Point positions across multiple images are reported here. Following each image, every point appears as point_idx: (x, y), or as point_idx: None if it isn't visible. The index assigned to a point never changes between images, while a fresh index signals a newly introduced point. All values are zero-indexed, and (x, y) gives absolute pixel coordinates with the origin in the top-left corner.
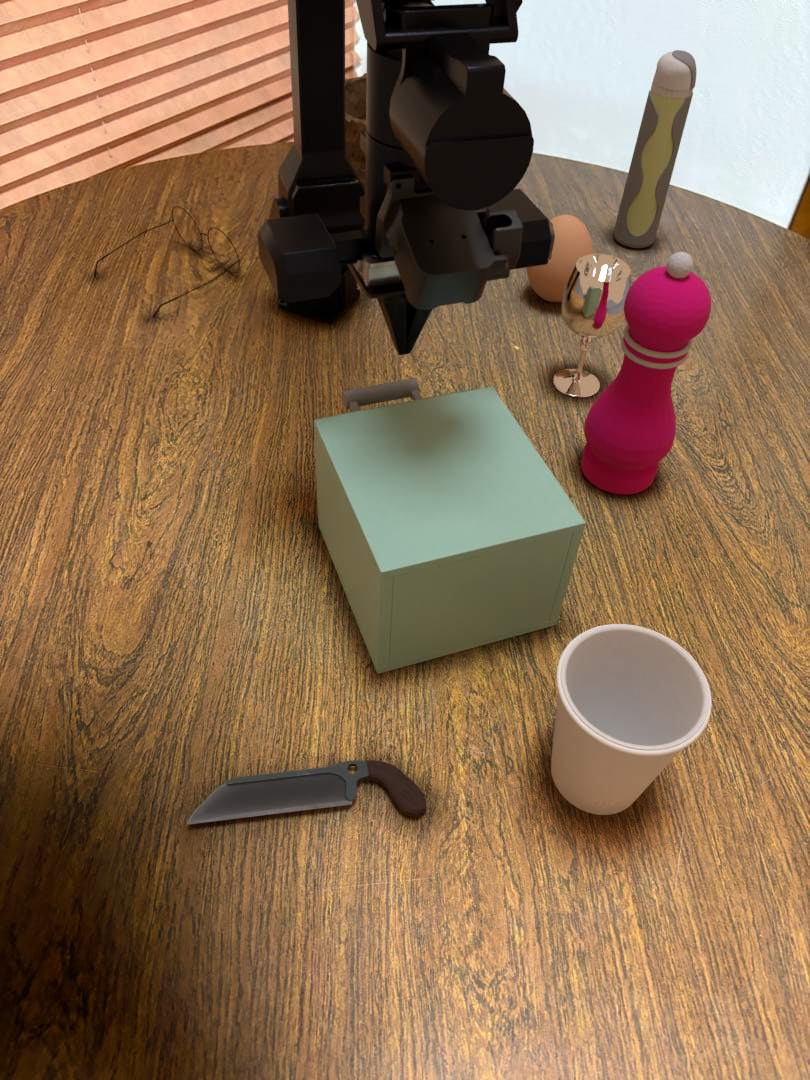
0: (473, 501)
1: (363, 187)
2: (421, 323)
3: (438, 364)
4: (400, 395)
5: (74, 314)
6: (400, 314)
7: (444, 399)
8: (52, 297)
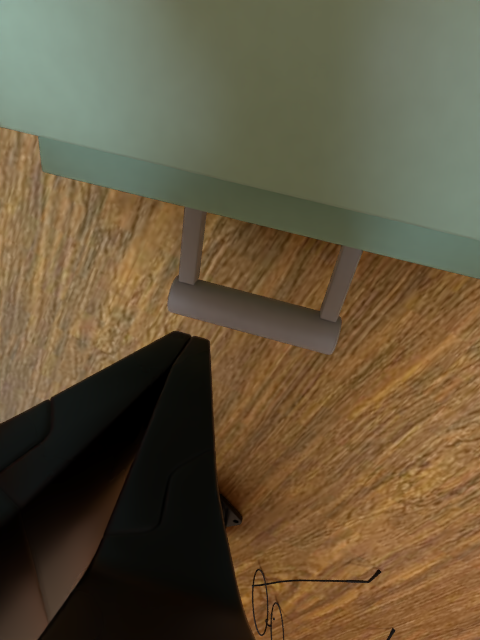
0: None
1: None
2: (87, 391)
3: (103, 357)
4: (218, 287)
5: (451, 609)
6: (160, 474)
7: (150, 141)
8: (452, 631)
